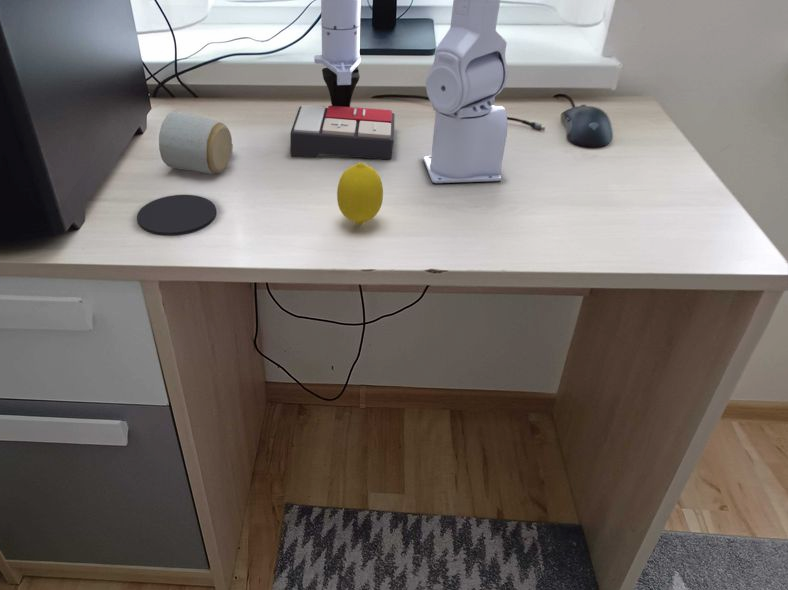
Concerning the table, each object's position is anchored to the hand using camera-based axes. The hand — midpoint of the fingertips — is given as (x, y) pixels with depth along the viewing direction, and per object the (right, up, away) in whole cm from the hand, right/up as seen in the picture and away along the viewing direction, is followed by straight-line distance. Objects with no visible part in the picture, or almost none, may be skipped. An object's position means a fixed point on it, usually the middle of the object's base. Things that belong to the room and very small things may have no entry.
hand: (340, 116), depth 105 cm
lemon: (+2, -22, -24) cm, 33 cm away
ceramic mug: (-20, -11, -10) cm, 25 cm away
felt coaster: (-22, -20, -22) cm, 37 cm away
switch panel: (0, -6, -5) cm, 8 cm away
